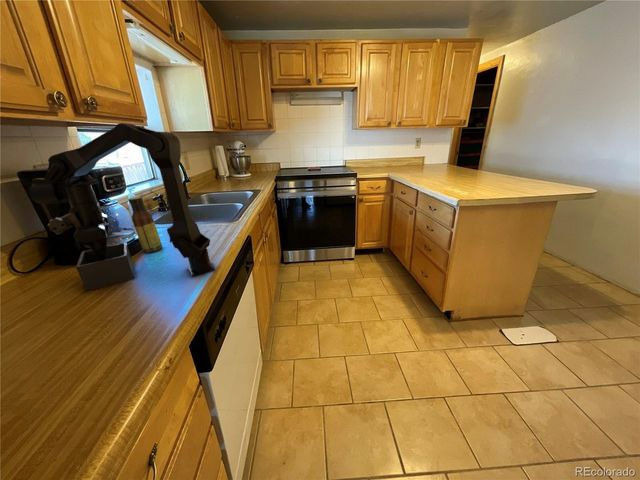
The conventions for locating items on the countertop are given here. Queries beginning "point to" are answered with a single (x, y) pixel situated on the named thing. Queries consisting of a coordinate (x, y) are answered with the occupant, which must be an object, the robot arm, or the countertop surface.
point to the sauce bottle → (144, 226)
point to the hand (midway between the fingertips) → (103, 253)
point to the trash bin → (105, 267)
